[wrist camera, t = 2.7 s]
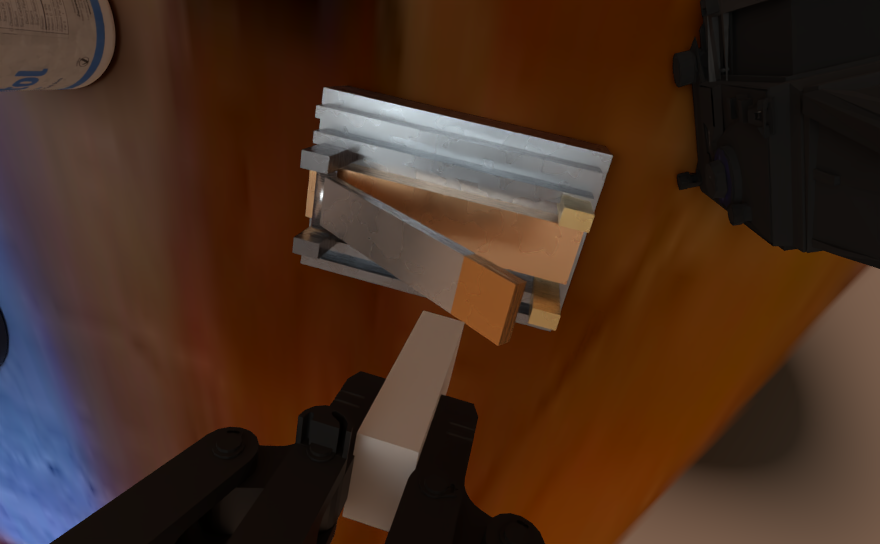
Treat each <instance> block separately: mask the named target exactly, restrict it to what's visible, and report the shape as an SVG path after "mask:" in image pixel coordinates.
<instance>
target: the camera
mask: <svg viewBox="0 0 880 544" xmlns="http://www.w3.org/2000/svg"><path fill="white" fill-rule="evenodd" d="M700 4H701V11H702V17H703V24H702V26H701V28H700V30H699V31H700V40H701V48H699V49H698V45H697V41H696V38H694V40H693V43H692V46H691V48H690V51H685V52H680V53H675V55H674V57H673V74H674V79H675V83H676V85H677V86H678V87H681V86H685V85H688V84H692V89H693V101H694V114H695V126H696V139H697V152H698V164H697V169H696V174H695V173H692V174H693V175H691V174H689V172H685V173H681V174H678V175H677V183H678V187H679V190H682V189H687V188H691V187H696V186H700V189H701V191H702V192H703V193H705V194H706V195H707V196H709V197H710V198H711V199H713V200H714V201H715V202H716V203H718V204H719V205H720V206H722V207H723V208H724V209H725V210H727V211H728V217H729V220H730V223H731V224H732V225H733V226H734V225H740V224H742V223H744V224H745V225H746V226H747V227H749V228H750V229H751V230H753V231H754V232H755V233H757V234H758V235H759V236H760V237H762V238H763V239H764V240H766V241H767V242H768V243H769V244H771V245H772V246H779V247H780V248H781V249H783V250H784V251H786V250H792V249H799V250H800V251H802V252H807V253H810V252H817V251H823V250H824V251H827V252H829V253H832V254H835V255H838V256H841V257H844V258H848V259H851V260H854V261H857V262H860V263H863V264H866V265H869V266H873V267H876V268H879V269H880V0H701V1H700Z"/></svg>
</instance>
